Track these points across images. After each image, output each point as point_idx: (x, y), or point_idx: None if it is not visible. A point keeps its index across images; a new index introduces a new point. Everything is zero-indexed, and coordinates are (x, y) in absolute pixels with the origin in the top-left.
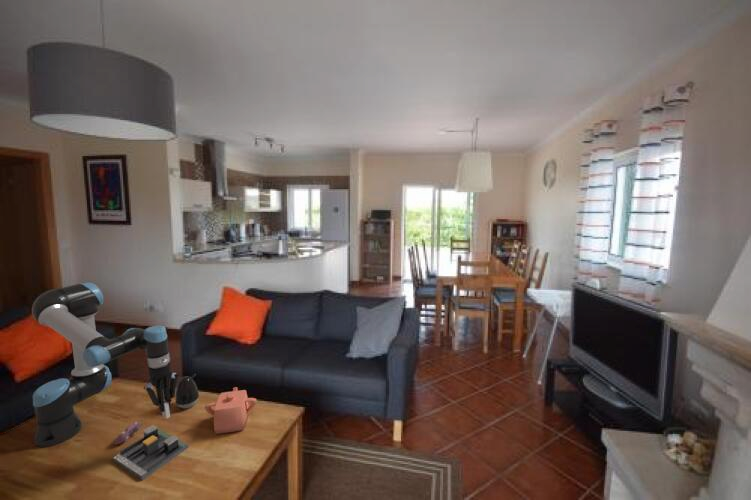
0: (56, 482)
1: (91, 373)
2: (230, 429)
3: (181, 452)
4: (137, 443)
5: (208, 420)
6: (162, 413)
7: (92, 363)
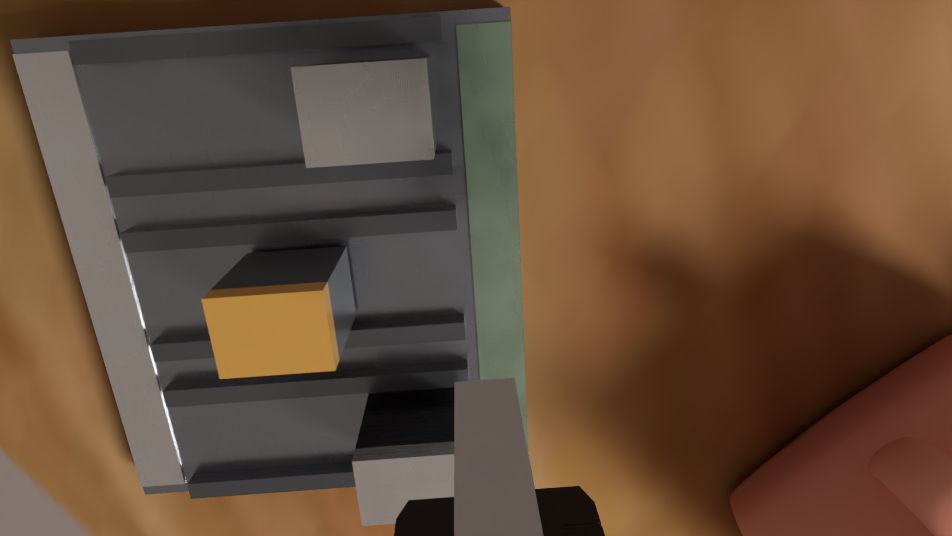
0: None
1: None
2: None
3: None
4: (250, 52)
5: (846, 279)
6: (454, 426)
7: None
